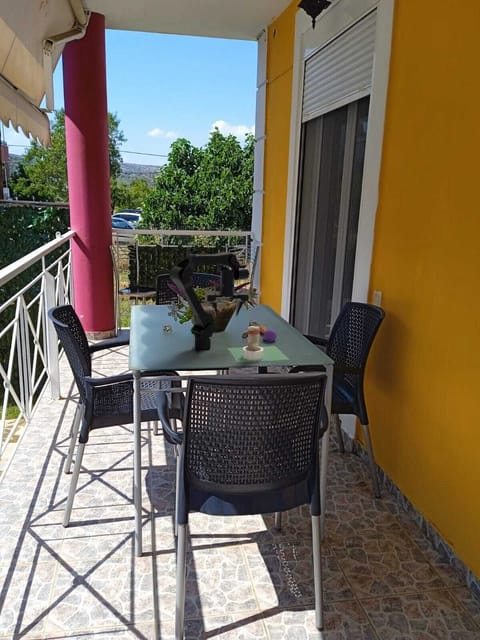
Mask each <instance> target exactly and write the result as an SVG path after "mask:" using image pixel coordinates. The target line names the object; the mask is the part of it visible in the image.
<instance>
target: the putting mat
mask: <svg viewBox="0 0 480 640" xmlns="http://www.w3.org/2000/svg"><path fill="white" fill-rule="evenodd" d="M261 347H262V348H263V349H264V353H263V358H262V359H260V360H247V359H244V358H243V357H242V350H243V347H227V351H229V353H230V355H231V356H232V357H233V358H234V360H235V361H236V363H252V362H253V363H254V362H269V361H270V362H271V361H272V362H273V361H275V362H276V361H289V360H290V361H291V359H290V358H289V357H287V355H286V354H284V353H283V352H282V351H281V350H280V349H279V348H278V347H277V346H275V345H271V346H270V345H269V346H261Z"/></svg>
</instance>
